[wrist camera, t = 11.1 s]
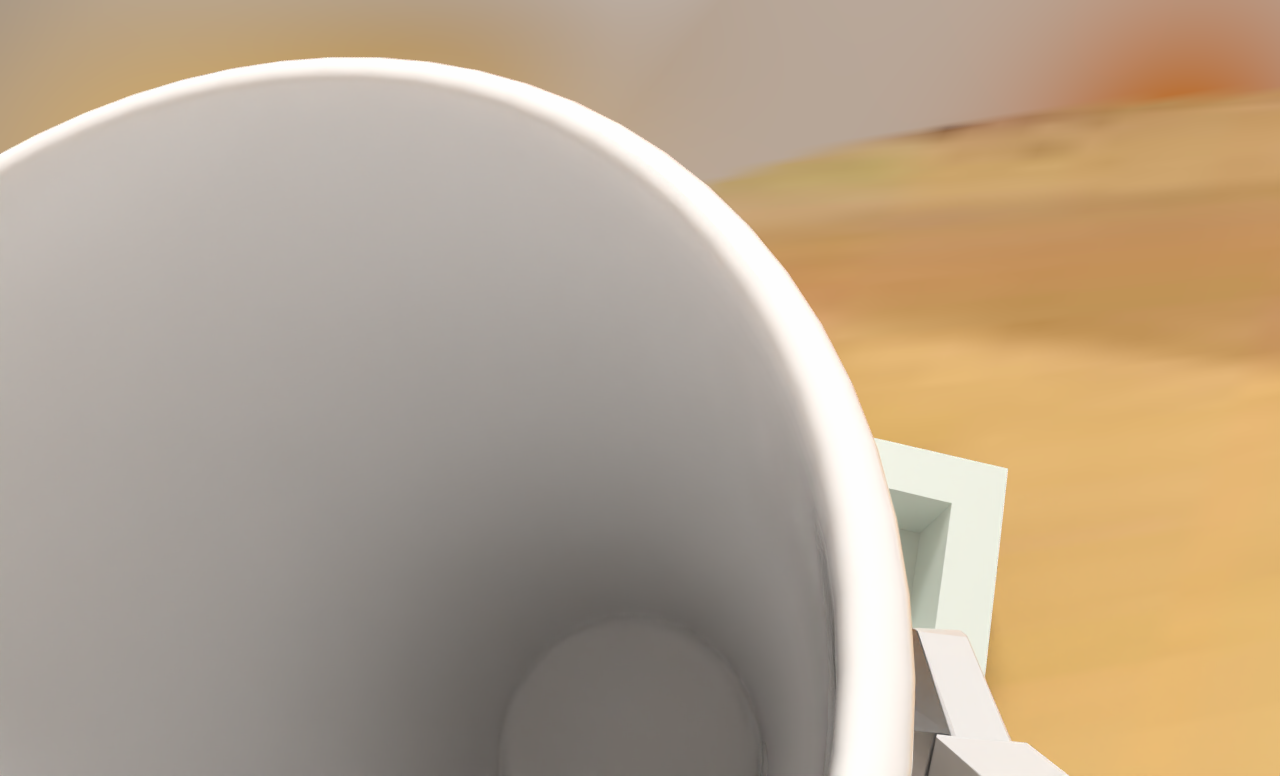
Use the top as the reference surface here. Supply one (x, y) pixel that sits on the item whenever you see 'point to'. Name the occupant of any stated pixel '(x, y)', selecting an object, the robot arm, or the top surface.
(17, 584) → the white tall cup
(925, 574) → the tray
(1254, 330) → the top surface
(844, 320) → the top surface
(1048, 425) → the top surface
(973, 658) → the robot arm
